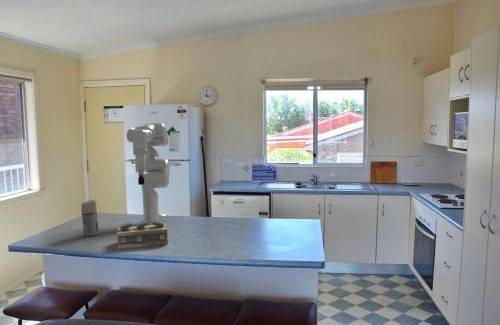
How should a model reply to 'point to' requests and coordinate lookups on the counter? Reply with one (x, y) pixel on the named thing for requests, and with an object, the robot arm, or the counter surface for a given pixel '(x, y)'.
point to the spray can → (89, 218)
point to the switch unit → (142, 236)
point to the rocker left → (126, 225)
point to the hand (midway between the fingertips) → (141, 184)
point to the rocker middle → (142, 224)
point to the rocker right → (157, 222)
